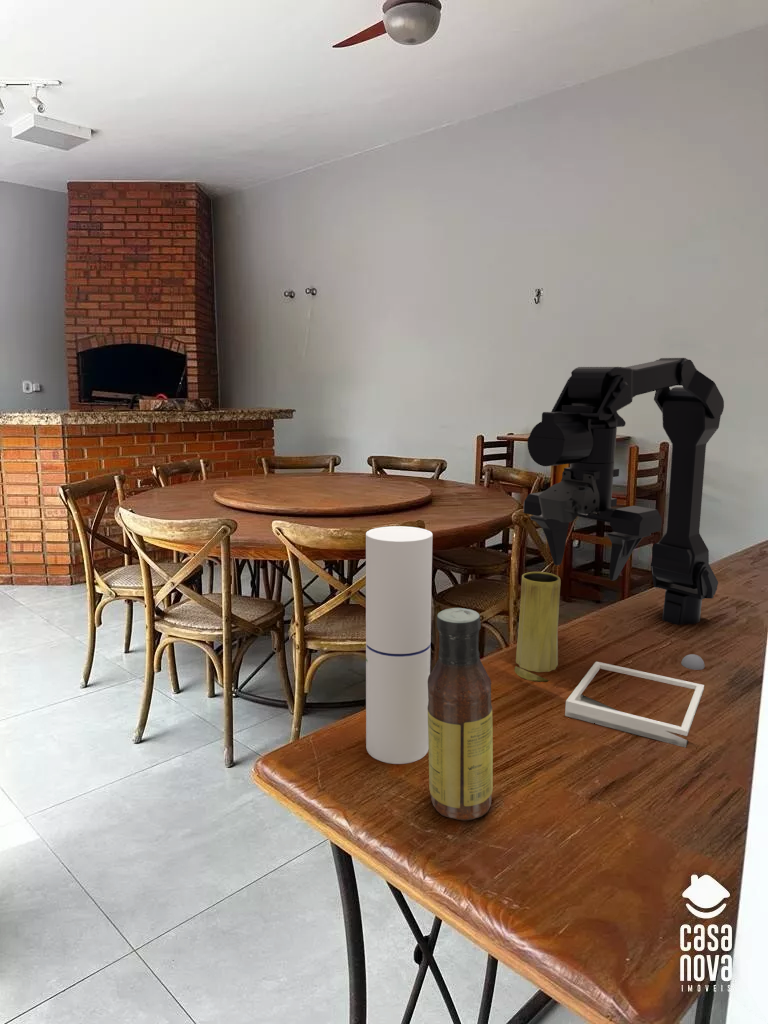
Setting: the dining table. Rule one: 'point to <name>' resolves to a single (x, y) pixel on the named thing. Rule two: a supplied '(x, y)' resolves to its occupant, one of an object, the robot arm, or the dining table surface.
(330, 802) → the dining table surface
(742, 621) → the dining table surface
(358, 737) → the dining table surface
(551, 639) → the vase
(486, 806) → the sauce bottle
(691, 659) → the mixing ball
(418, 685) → the cylindrical container
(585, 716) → the tray
